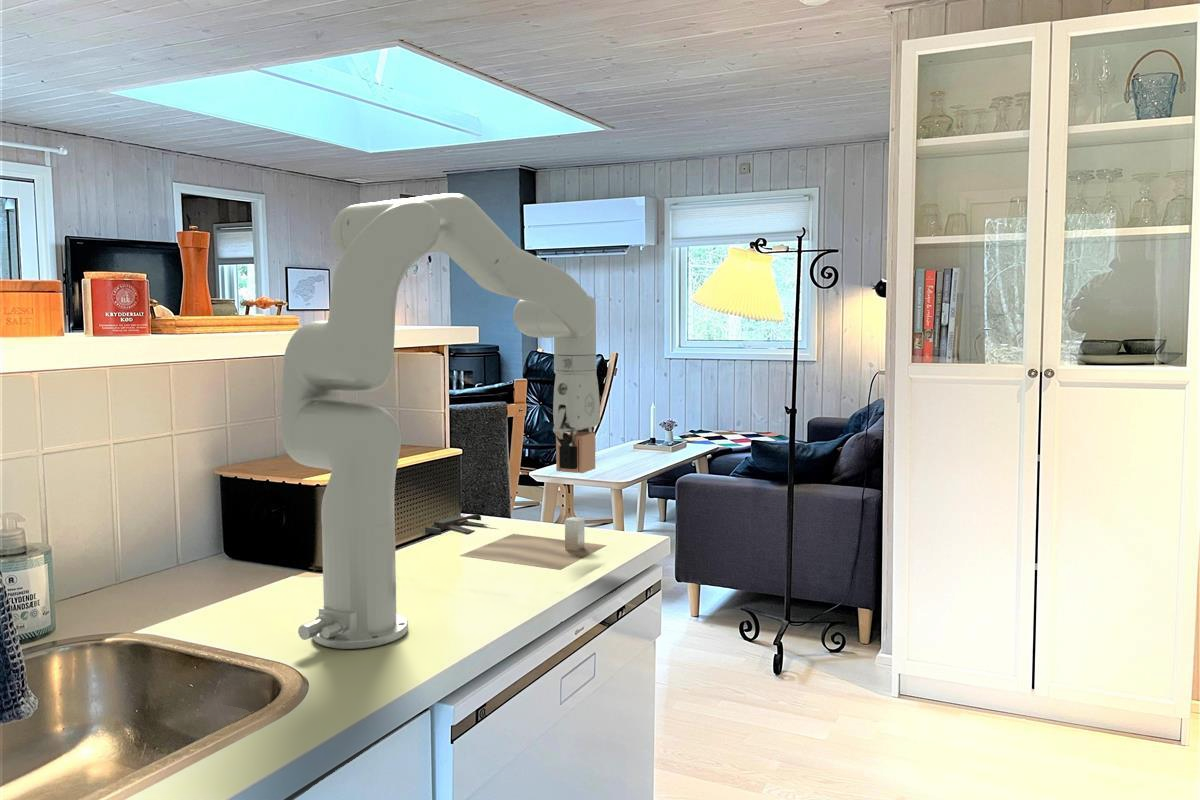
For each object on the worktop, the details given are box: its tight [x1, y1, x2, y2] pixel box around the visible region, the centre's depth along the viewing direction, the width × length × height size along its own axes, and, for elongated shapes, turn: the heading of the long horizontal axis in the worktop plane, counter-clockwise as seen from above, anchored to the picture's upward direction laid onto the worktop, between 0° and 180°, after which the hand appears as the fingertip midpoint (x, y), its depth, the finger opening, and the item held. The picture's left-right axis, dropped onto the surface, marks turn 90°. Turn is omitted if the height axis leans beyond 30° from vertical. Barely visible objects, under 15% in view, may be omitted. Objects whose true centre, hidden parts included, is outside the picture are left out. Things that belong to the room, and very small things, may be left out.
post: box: [564, 516, 585, 551], centre depth 160 cm, size 3×3×7 cm
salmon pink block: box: [555, 431, 596, 474], centre depth 159 cm, size 5×5×7 cm
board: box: [459, 533, 608, 571], centre depth 159 cm, size 18×20×2 cm
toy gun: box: [424, 513, 498, 535], centre depth 180 cm, size 3×19×15 cm
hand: (576, 464), depth 159 cm, fingers closed on salmon pink block, 5 cm apart
